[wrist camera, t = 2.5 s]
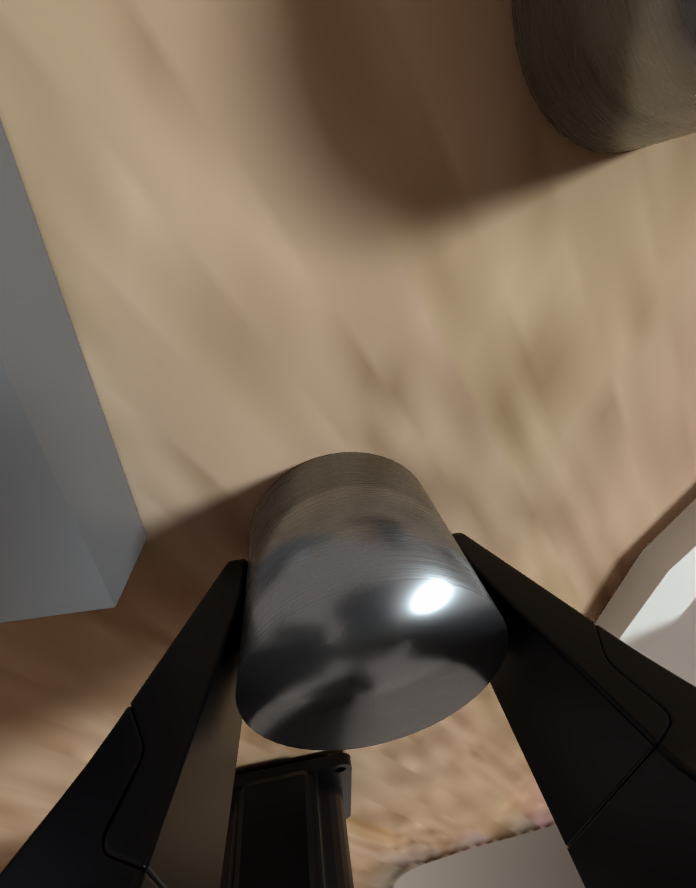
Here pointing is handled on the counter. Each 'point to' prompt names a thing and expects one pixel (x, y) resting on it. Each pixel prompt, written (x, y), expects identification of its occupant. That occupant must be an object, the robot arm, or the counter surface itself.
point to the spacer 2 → (610, 68)
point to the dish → (661, 599)
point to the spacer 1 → (358, 610)
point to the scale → (52, 441)
